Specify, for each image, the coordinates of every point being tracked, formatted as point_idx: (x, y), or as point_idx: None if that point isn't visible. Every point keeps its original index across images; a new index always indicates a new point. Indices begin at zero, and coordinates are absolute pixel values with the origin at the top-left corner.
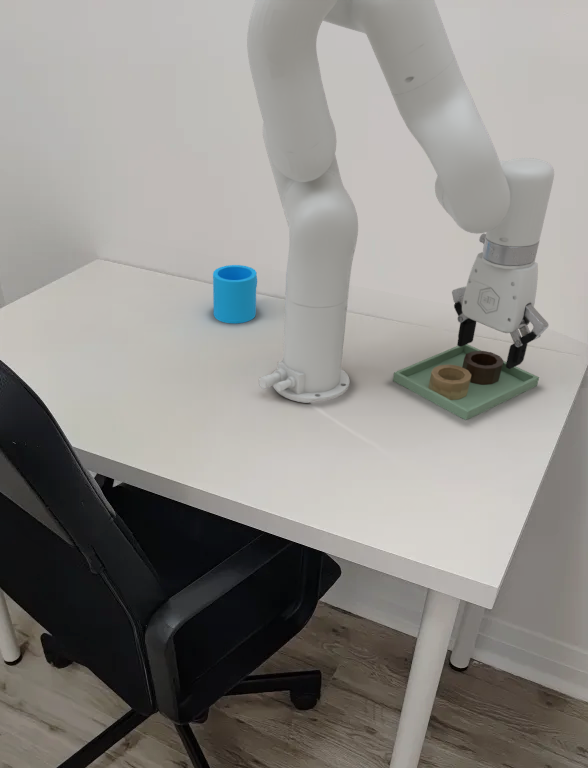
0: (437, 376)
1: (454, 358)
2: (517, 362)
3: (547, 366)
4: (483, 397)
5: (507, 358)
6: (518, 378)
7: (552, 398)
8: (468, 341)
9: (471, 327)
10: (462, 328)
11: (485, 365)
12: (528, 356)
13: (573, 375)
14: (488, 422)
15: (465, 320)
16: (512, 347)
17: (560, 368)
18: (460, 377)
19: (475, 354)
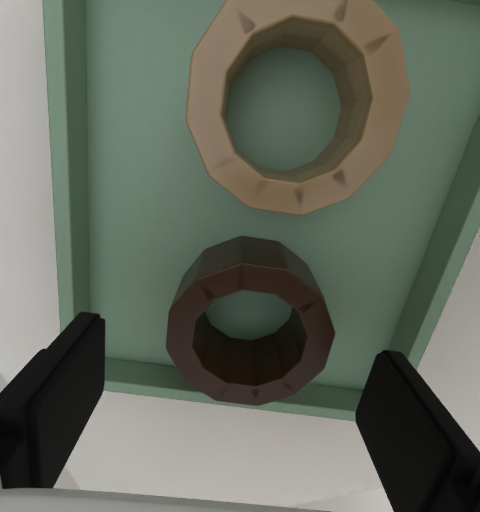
0: (345, 8)
1: (379, 343)
2: (39, 351)
3: (146, 467)
4: (144, 168)
5: (84, 344)
6: (145, 363)
7: (15, 338)
8: (367, 400)
9: (401, 474)
10: (446, 431)
11: (257, 351)
12: (214, 480)
13: (70, 468)
14: (21, 18)
15: (476, 501)
16: (10, 398)
17: (116, 477)
18: (265, 173)
19: (301, 355)
